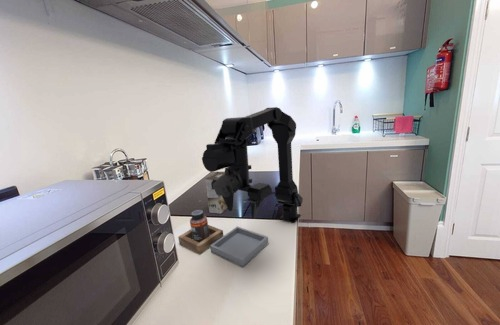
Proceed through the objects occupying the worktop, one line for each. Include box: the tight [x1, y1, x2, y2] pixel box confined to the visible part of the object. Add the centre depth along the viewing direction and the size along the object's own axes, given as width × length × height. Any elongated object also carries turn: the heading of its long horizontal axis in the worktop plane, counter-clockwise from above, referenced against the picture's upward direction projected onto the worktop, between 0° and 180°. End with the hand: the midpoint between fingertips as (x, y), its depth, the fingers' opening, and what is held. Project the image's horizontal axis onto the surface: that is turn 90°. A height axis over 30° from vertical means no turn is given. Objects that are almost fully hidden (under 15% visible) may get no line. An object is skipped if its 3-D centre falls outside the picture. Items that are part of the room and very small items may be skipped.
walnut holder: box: [178, 224, 224, 255], centre depth 81 cm, size 11×11×3 cm
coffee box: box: [204, 172, 228, 214], centre depth 103 cm, size 9×6×16 cm
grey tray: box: [209, 226, 269, 268], centre depth 75 cm, size 14×14×2 cm
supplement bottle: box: [189, 209, 210, 243], centre depth 80 cm, size 6×6×11 cm
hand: (241, 214), depth 67 cm, fingers open, 9 cm apart
